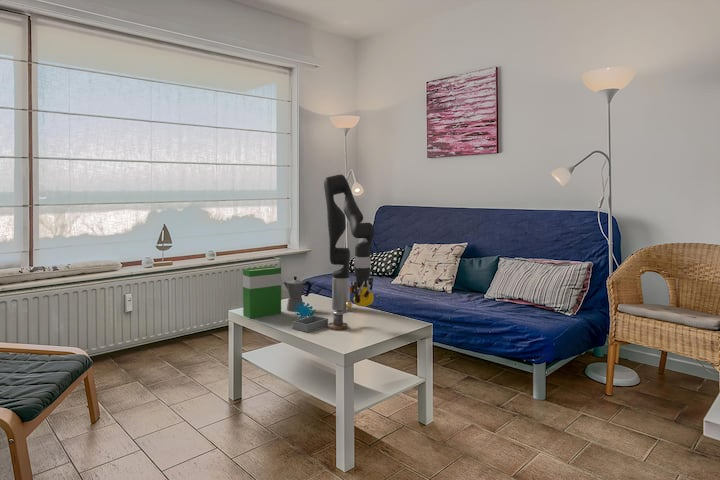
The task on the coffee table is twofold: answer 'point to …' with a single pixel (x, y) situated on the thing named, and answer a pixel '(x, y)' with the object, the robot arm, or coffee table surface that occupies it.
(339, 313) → the crank
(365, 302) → the duckling
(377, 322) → the coffee table surface
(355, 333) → the coffee table surface
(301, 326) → the tray
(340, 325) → the base
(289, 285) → the coffeepot
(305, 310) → the gear
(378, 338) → the coffee table surface
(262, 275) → the green box
